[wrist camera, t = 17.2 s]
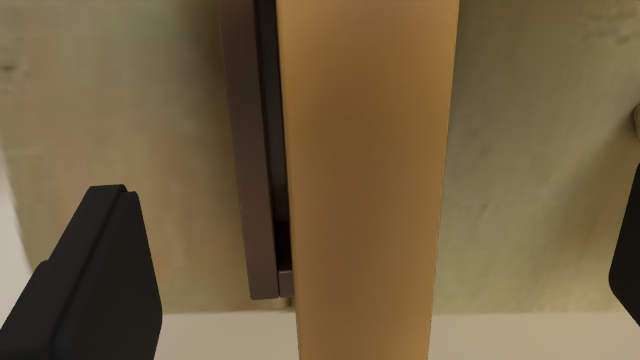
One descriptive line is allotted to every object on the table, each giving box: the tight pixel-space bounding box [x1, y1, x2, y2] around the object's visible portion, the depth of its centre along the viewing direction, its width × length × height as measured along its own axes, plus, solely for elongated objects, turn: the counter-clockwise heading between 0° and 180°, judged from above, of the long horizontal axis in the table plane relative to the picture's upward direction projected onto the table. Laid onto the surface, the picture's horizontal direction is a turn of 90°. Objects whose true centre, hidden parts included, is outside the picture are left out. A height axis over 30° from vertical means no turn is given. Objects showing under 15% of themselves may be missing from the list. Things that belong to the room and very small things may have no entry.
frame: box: [274, 0, 460, 360], centre depth 15 cm, size 3×12×9 cm, turn 2°
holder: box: [216, 0, 294, 300], centre depth 18 cm, size 15×6×4 cm, turn 2°
